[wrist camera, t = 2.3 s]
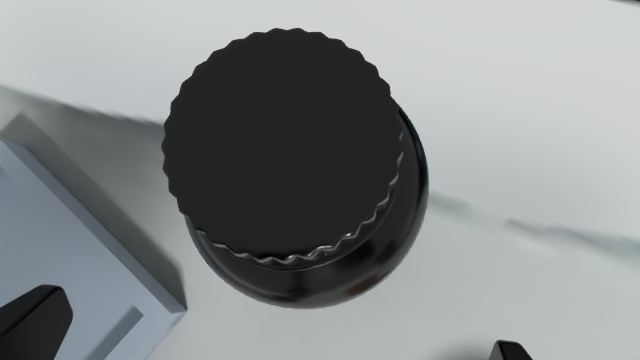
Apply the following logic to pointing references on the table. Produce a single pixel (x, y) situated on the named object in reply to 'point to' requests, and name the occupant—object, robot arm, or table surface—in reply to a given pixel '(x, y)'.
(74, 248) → the tray
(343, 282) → the supplement bottle
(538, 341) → the table surface
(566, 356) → the table surface
